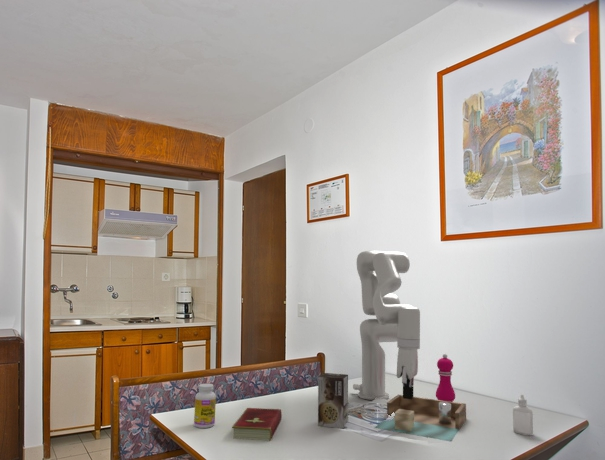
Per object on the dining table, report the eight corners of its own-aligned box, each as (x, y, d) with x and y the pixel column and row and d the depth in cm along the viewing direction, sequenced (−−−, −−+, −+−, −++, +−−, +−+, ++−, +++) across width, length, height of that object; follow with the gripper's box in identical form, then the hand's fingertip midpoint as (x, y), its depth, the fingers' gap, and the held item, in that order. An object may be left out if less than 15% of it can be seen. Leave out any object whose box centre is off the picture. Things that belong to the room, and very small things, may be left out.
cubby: (374, 430, 151) (374, 411, 152) (398, 411, 174) (398, 394, 174) (451, 444, 140) (450, 423, 140) (466, 421, 162) (465, 403, 163)
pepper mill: (453, 405, 183) (452, 352, 185) (457, 410, 176) (456, 355, 178) (434, 404, 184) (433, 352, 186) (437, 409, 177) (437, 355, 179)
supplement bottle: (198, 430, 149) (199, 388, 150) (191, 424, 155) (192, 384, 156) (218, 426, 153) (219, 386, 154) (210, 421, 158) (211, 382, 159)
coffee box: (348, 423, 158) (349, 374, 160) (344, 429, 152) (344, 378, 154) (322, 420, 161) (323, 372, 163) (317, 426, 155) (317, 375, 157)
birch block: (394, 428, 150) (394, 412, 151) (399, 424, 155) (398, 408, 155) (410, 431, 148) (410, 414, 149) (414, 426, 153) (414, 410, 153)
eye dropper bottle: (525, 436, 148) (524, 397, 149) (511, 431, 153) (510, 393, 154) (535, 435, 149) (534, 396, 151) (521, 429, 155) (520, 392, 156)
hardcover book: (281, 421, 161) (281, 408, 162) (271, 442, 140) (271, 427, 141) (247, 419, 162) (247, 406, 163) (231, 440, 142) (232, 425, 142)
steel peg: (438, 423, 157) (438, 405, 157) (438, 419, 161) (438, 401, 161) (451, 424, 156) (451, 406, 156) (451, 420, 159) (450, 402, 160)
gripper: (403, 339, 169) (403, 391, 168) (391, 345, 156) (390, 402, 155) (424, 341, 165) (424, 394, 164) (413, 347, 152) (413, 406, 151)
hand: (408, 398), depth 159 cm, fingers closed
